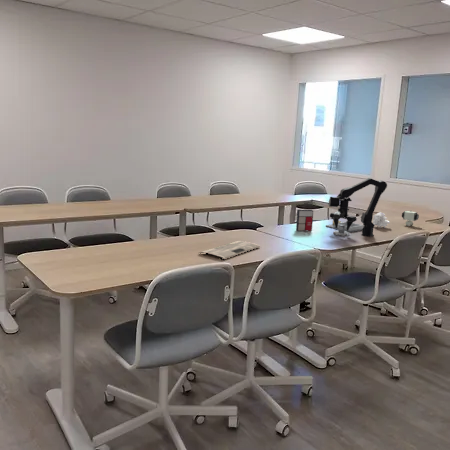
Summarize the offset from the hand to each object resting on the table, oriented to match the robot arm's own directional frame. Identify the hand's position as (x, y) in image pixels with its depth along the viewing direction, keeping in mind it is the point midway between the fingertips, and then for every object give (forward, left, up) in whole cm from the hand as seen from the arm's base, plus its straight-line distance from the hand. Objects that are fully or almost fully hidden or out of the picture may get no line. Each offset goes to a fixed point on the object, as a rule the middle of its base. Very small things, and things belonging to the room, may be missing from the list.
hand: (341, 229), depth 324 cm
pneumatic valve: (-10, -75, -4) cm, 76 cm away
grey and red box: (+22, +14, -4) cm, 26 cm away
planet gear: (0, 0, -4) cm, 4 cm away
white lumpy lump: (-2, -47, -4) cm, 47 cm away
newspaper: (+9, +96, -5) cm, 96 cm away
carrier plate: (+12, -20, -4) cm, 23 cm away
